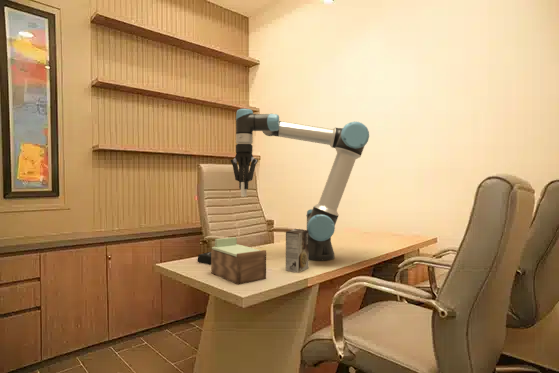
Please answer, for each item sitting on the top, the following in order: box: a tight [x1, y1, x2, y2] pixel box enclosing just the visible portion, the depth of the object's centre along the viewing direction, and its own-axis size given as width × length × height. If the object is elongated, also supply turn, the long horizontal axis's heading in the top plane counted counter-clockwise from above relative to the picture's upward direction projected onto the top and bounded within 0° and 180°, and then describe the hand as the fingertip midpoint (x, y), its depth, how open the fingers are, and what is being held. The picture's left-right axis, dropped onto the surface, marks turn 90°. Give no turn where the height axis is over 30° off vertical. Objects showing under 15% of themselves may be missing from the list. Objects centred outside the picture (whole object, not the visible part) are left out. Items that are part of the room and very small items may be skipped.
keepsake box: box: [210, 249, 267, 285], centre depth 132 cm, size 20×12×10 cm, turn 39°
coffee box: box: [285, 228, 309, 273], centre depth 143 cm, size 9×6×16 cm
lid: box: [211, 236, 261, 257], centre depth 133 cm, size 18×12×4 cm, turn 39°
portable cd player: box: [197, 251, 211, 266], centre depth 157 cm, size 16×17×4 cm
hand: (243, 196), depth 156 cm, fingers closed
